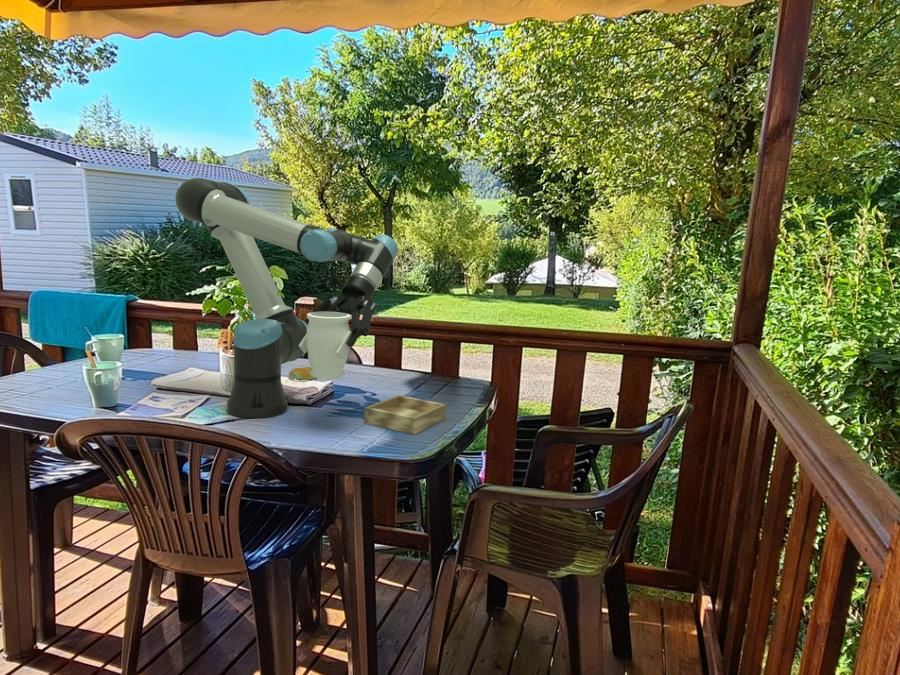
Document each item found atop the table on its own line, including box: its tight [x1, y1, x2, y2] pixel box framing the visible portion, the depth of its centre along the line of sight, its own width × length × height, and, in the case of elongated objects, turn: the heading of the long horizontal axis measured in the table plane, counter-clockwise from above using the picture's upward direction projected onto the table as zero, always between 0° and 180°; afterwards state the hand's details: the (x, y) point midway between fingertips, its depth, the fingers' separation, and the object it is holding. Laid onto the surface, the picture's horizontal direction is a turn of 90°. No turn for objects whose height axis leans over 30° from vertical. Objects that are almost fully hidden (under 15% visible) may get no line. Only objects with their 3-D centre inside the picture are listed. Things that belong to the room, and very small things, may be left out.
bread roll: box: [288, 366, 317, 381], centre depth 191 cm, size 8×9×4 cm
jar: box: [306, 311, 352, 380], centre depth 140 cm, size 11×10×15 cm
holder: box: [363, 394, 447, 436], centre depth 151 cm, size 15×16×4 cm
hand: (320, 352), depth 138 cm, fingers closed on jar, 10 cm apart
